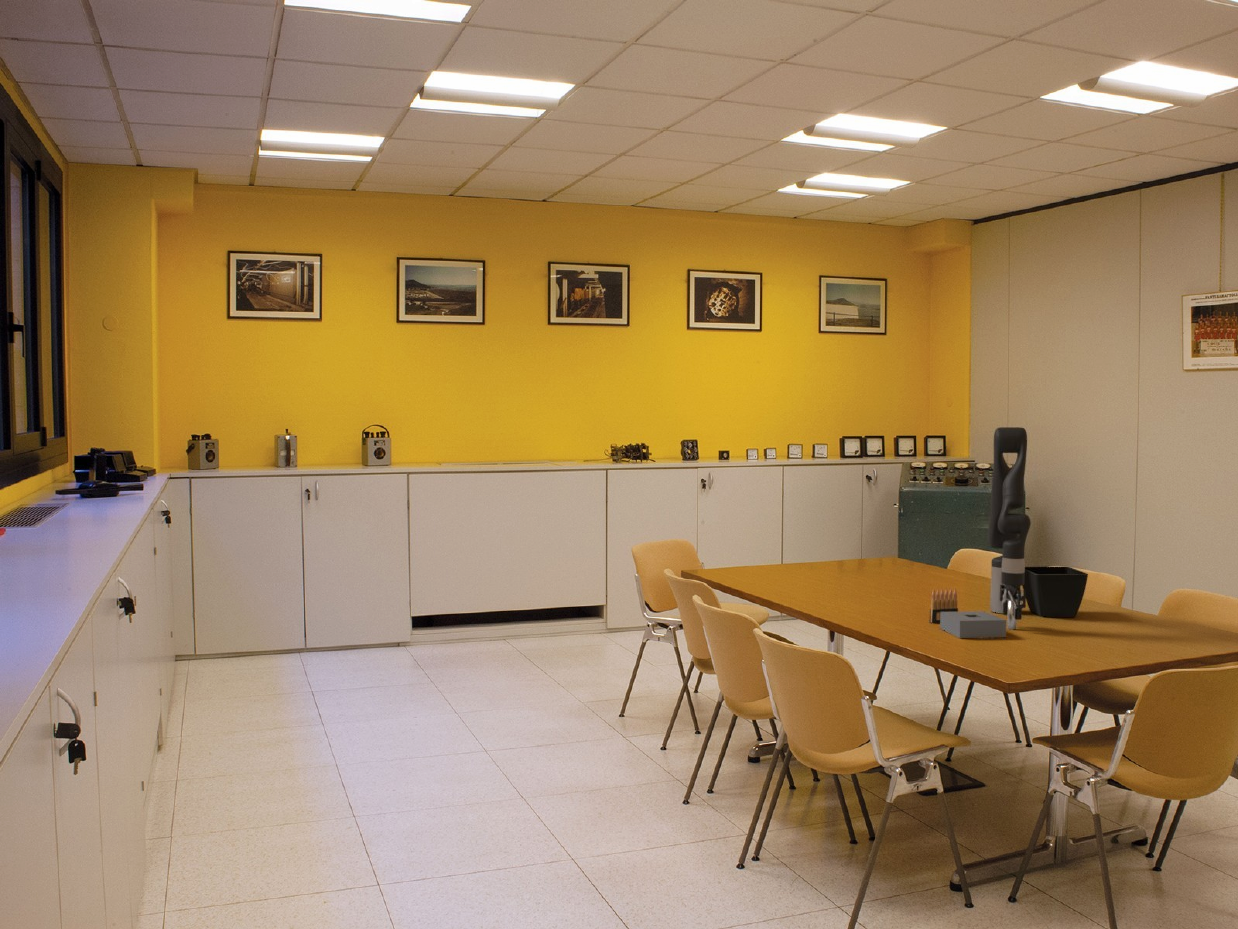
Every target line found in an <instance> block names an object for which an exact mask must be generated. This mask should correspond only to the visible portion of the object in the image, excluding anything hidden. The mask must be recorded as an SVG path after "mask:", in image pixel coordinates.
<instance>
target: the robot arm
mask: <svg viewBox="0 0 1238 929" xmlns="http://www.w3.org/2000/svg"><path fill="white" fill-rule="evenodd" d="M1027 452H1028V434H1027V430H1026V429H1025V428H1024V427H1016V426H1015V427H1014V426H1013V427H1010V426H1009V427H1006V426H1003V427H997V428H996V429H995V431H994V433H993V469H992V481H991V491H990V492H991V494H990V495H991V496H990V498H991V500H990V501H991V503H990V516H989V522H988V524H989V525H988V530H987V531H988V532H987V543H988V546H989V547H990V548H992V549H997V550H998V549H1001V550H1002V555H999V556H996V557H994V558H992V559H991V563H990V564H991V568H990V569H991V571H990V599H989V600H990V605H989V606H990V607H989V610H990V612H992V613H995V612H996V614H1002V616H1003V615H1004V616H1008V600H1011V601H1012V603H1013V604H1014V607H1015V619H1016V620H1018V621H1019V620H1020V621H1021V620H1022V617H1023V616H1022V614H1023V612H1022V611H1023V609H1026V607H1027V605H1026V603H1027V601H1026V591H1025V590H1021V587H1022V585H1024V580H1025V567H1026V566H1025V565H1026V564H1025V563H1026V562H1025V548H1026V547H1025V546H1026V541H1027V538H1028V534H1029V531H1030V528H1031V523H1032V521H1031V519H1030V516H1029V515H1028V514H1026V513H1013V512H1012V513H1011V512H1010V511H1014V510H1018V509H1021V508H1023V507H1024V506H1025V487H1024V486H1025V472H1026V463H1027V454H1028V453H1027ZM1003 454H1016V460H1015V462H1014V465H1013V466H1012V467H1011V468H1010V466H1009V464H1007V461H1006V460H1005V457H1004V455H1003Z"/></svg>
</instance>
